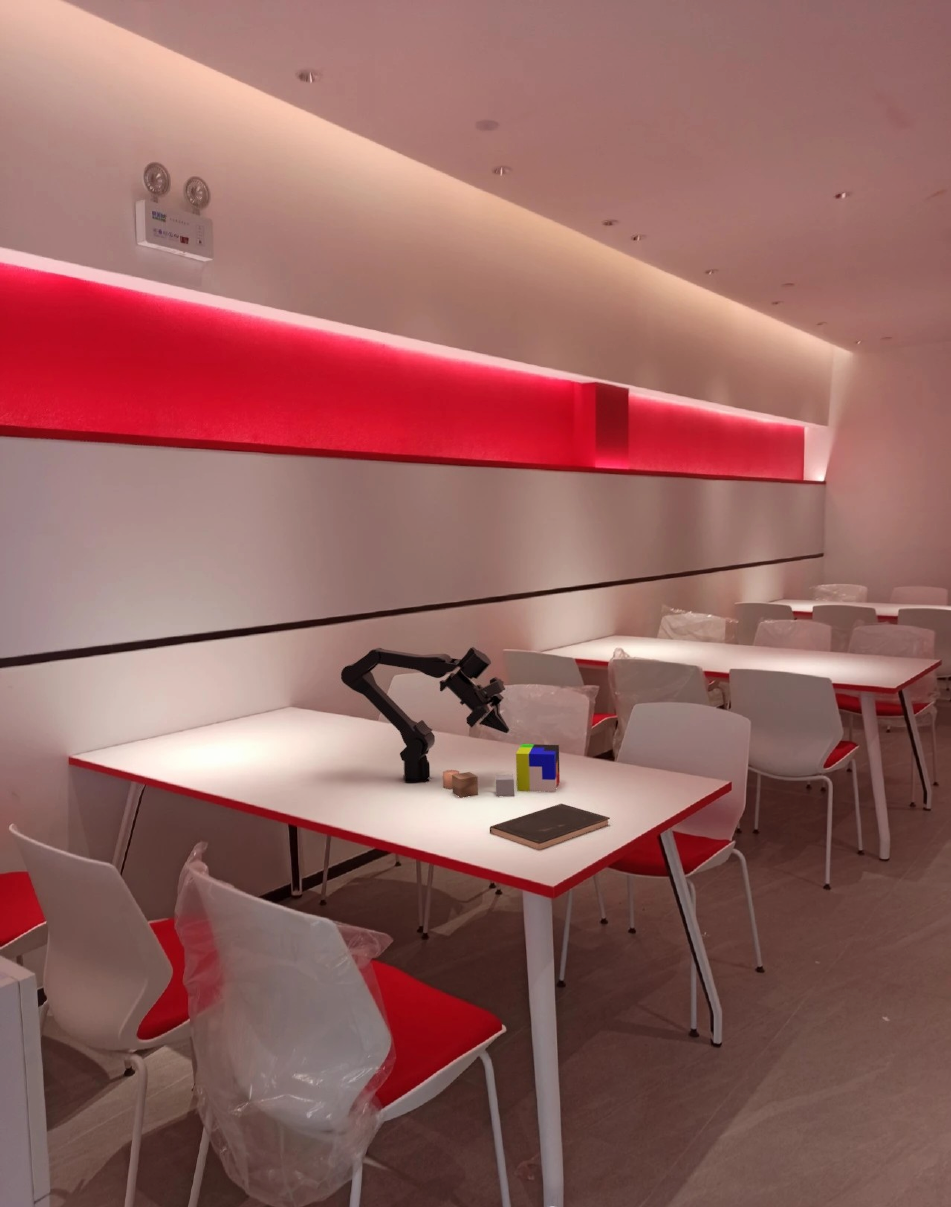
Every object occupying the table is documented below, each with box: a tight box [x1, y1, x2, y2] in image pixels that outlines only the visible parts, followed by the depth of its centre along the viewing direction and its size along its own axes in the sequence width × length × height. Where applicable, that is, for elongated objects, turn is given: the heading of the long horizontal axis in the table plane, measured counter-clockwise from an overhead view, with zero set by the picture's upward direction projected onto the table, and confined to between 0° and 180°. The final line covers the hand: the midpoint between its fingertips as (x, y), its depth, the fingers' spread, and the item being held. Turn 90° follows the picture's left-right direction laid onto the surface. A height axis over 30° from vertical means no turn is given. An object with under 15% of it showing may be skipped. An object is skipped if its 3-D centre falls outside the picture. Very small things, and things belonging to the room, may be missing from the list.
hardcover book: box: [489, 803, 611, 850], centre depth 216 cm, size 16×23×2 cm
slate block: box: [495, 774, 515, 797], centre depth 244 cm, size 4×4×4 cm
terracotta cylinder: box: [442, 769, 460, 790], centre depth 251 cm, size 4×4×4 cm
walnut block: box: [451, 771, 479, 799], centre depth 244 cm, size 5×5×5 cm
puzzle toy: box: [515, 743, 561, 793], centre depth 249 cm, size 10×10×10 cm
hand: (508, 731), depth 251 cm, fingers closed
